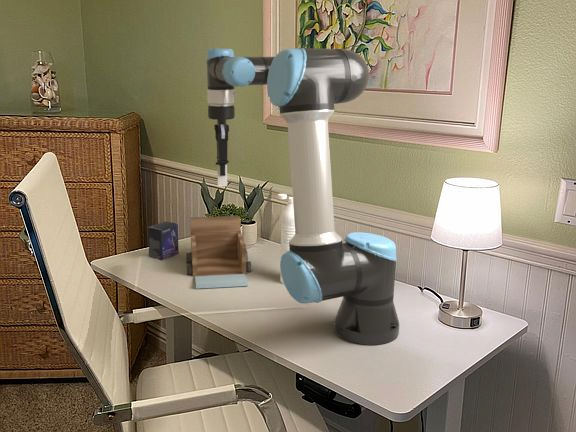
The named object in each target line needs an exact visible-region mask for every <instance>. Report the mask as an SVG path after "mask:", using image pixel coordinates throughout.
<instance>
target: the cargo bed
mask: <svg viewBox="0 0 576 432" xmlns="http://www.w3.org/2000/svg"><path fill="white" fill-rule="evenodd" d="M241 220H242V219H241V216H240V215H232V216H202V217H201V216H200V217H190V218H189V222H190V247H191V248H190V250H191V252H186V253H185V255H186V257H185V259H186V275H187V276H192V277H193V278H194V276H212V275H231V274H246V275H247V273H252V262H251V261H249V258H248V257H249V256H248V250H247V246H246V243H245V240H244V237H243V234H242V228H241V227H242V225H241V224H242V223H241Z"/></svg>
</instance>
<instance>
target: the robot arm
mask: <svg viewBox="0 0 576 432" xmlns="http://www.w3.org/2000/svg"><path fill="white" fill-rule="evenodd" d="M205 62H206V74H207V75H206V77H207V78H206V80H207V90H206V91H207V93H206V94H207V104H209V105H208V106H207V117H208V119H210V120H216V124H213V126H214V131H215V132H214V133H215V135H214V136H215V140H216V161H215V166H217V187H228V164H229V163H230V162H229V160H228V142H229V132H230V125H229V124H227V120H233V119H234V118H235V117H236V116H235V114H236V113H235V105H233V104H234V103H235V97H236V96H237V92H235V88H237V87H241V88H242V87H246V86H266V89H267V90H266V91H267V95H268V96H267V97H268V98H269V101H270V103H271V104H272V105H274V106H275V107H277V108H278V109H279V116H280V118H282V119H283V120H284V121H285V122H286V124H287V131H288V132H287V133H288V134H287V135H288V148H289V160H290V161H289V162H290V163H289V164H290V174H291V191H292V197H293V207H294V221H295V235H294V236H293V238H292V239H291V240H290V241H289V249H290V251H288V252H286V253H284V254H283V255H282V258H281V259H280V263H279V266H280V267H279V269H281V274H280V276H281V275H282V279H283V282H284V284H283V285H284V286H285V289H286V290H287V293H288V294H289V295H290V297H292V298H293V300H295V301H296V302H298V303H300V304H312V303H317V304H319V303H321V302H323V301H328V300H332V299H338V298H342V300H341V302H340V305H339V308H338V310H337V313H336V316H335V318H334V332H335V333H336V334H337V335H338V336H339V337H340V338H341V339H344V340H346V341H347V342H351V343H356V344H360V345H370V346H371V345H372V346H373V345H382V344H387V343H390V342H392V341H394V340H395V339H397V337H398V336H399V335H400V321H399V317H398V314H397V309H396V306H395V303H394V296H395V293H394V292H395V278H396V277H395V276H396V269H397V268H396V266H397V260H398V258H397V246H396V244H395V242H394V241H393V240H391V239H390V238H388V237H386V236H382V235H379V234H375V233H371V232H363V231H362V232H361V231H359V232H358V231H355V232H353V231H352V232H349V233H348V234H346V235H345V238H344V241H345V242H344V243H343V237H342V236H341V235H339V234H338V233H337V232H336V230H335V214H334V213H335V212H334V201H333V200H334V197H333V185H332V184H333V183H332V169H331V167H332V166H331V165H332V164H331V151H330V135H329V119H330V118H331V116H332V115H333V114H334V113H335V104H336V105H337V104H346V103H349V102H352V101H355V100H356V99H357V98H359V97H360V95H362V94H363V93H364V92H365V91H366V88H367V87H368V84H369V80H370V71H369V66H368V64H367V62H366V60H365V59H364V58H363V57H362V56H361V55H360V54H358V53H357V52H355V51H353V50H350V49H345V48H316V47H315V48H314V47H296V48H286V49H282V50H281V51H278V53H276V55H275V56H235V52H234V50H233V49H232V48H222V47H221V48H219V47H218V48H214V47H213V48H209V49H208V50H207V53H206V60H205Z"/></svg>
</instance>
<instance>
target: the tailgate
mask: <svg viewBox="0 0 576 432" xmlns="http://www.w3.org/2000/svg"><path fill="white" fill-rule="evenodd" d="M246 275H247V273H246V274H231V275H212V276H194V277H193V278H194V280H195V282H194V283H195V289H198V290H199V289H214V288H232V287H235V288H237V287H248V286H249V281H248V279H247V278H248V277H247V276H246Z"/></svg>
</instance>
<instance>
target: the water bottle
mask: <svg viewBox="0 0 576 432" xmlns="http://www.w3.org/2000/svg"><path fill="white" fill-rule="evenodd" d="M287 198H288V200H287V202H288V203H287V204H286V206H285V207H284V208H283V210H282V212H281V213H280V260H281V258H282V255H283V254H284V253H286V252H288V251H290V249H289V241H290V240H291V239H292V238H293V236H294V235H295V221H294V207H293V196H290V197H288V196H287V193H278V194H277V199H279V200H286V199H287ZM279 269H280V268H279ZM279 273H280V275H279V282H280V283H281V284H282V285H284V282H283V279H282V275H281V269H280V271H279Z"/></svg>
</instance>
